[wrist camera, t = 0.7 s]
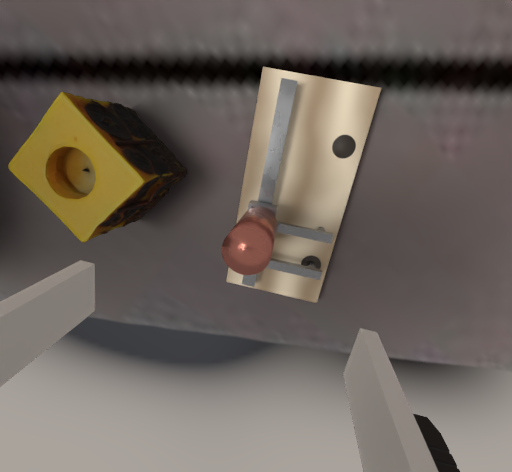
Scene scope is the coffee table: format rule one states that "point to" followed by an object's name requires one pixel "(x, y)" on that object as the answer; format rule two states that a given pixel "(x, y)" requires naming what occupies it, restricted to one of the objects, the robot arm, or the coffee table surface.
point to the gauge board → (307, 170)
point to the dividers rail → (271, 176)
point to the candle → (95, 165)
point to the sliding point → (261, 238)
